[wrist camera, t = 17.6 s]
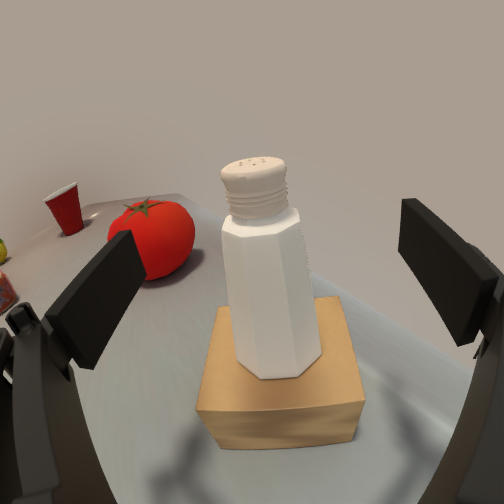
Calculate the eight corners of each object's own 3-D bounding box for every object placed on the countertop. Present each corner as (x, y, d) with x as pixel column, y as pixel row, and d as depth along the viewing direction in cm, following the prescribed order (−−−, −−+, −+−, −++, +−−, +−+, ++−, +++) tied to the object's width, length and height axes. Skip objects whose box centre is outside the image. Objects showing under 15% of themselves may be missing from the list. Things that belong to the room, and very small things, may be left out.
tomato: (122, 264, 43) (102, 205, 38) (196, 242, 46) (181, 181, 41) (119, 303, 34) (88, 231, 29) (210, 275, 37) (192, 199, 32)
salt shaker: (332, 325, 18) (329, 148, 12) (307, 392, 14) (293, 179, 8) (257, 311, 20) (228, 153, 15) (219, 368, 16) (161, 184, 11)
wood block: (335, 348, 23) (338, 295, 20) (351, 441, 15) (365, 399, 12) (233, 357, 24) (217, 306, 21) (220, 448, 16) (194, 409, 14)
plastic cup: (61, 231, 68) (47, 192, 62) (93, 218, 71) (80, 179, 66) (53, 245, 59) (36, 201, 54) (88, 231, 62) (73, 185, 57)
